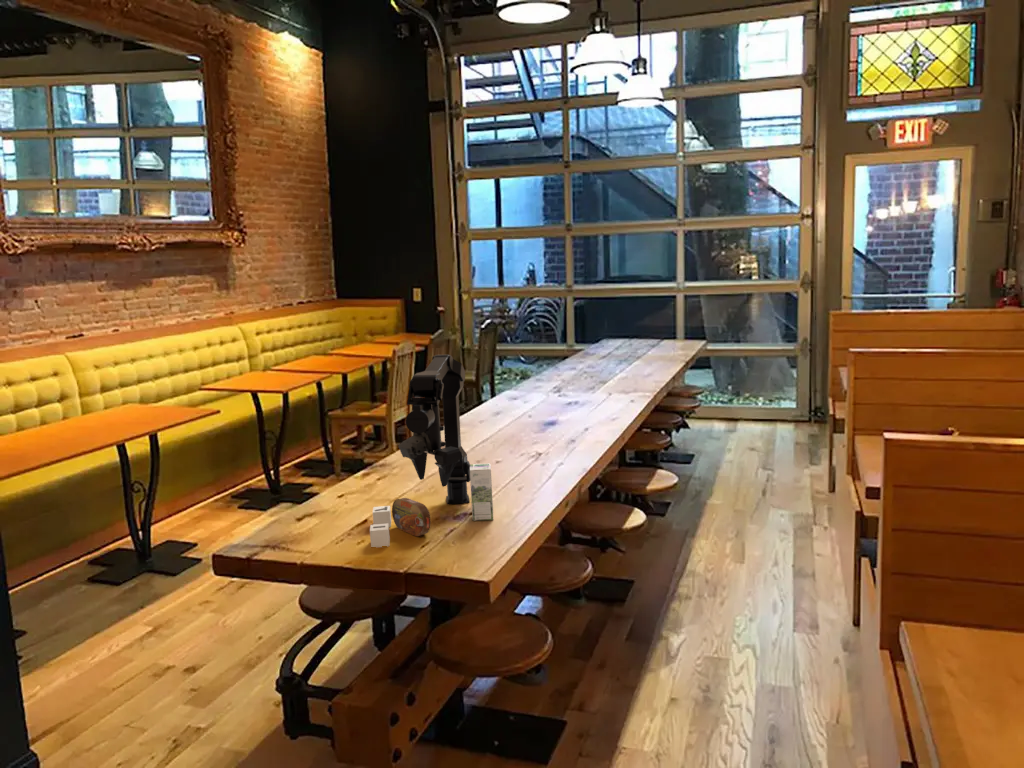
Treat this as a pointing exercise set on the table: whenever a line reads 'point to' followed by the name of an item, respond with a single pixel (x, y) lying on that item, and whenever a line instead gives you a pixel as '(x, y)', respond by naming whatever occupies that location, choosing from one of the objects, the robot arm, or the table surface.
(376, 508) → the lettered block t
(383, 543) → the lettered block i
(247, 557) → the table surface
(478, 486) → the syrup box
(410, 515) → the tin
